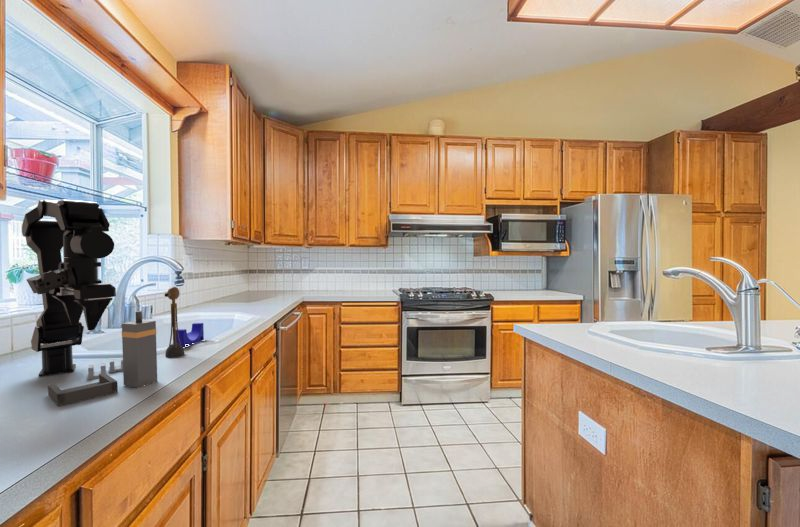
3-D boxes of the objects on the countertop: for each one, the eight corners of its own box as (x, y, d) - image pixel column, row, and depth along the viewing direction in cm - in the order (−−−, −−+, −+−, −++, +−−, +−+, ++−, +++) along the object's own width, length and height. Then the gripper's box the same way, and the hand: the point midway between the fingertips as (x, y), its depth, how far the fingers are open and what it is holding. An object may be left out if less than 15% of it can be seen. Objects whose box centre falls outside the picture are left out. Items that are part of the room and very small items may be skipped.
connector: (123, 385, 84) (121, 312, 83) (143, 379, 88) (141, 309, 88) (138, 387, 82) (136, 313, 82) (157, 381, 87) (155, 310, 86)
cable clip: (190, 340, 128) (190, 323, 128) (203, 340, 128) (203, 323, 128) (169, 349, 116) (169, 330, 116) (184, 349, 116) (183, 330, 116)
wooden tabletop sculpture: (176, 358, 105) (174, 287, 105) (159, 358, 105) (157, 287, 105) (187, 353, 111) (185, 285, 111) (171, 353, 111) (170, 285, 111)
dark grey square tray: (48, 395, 78) (48, 384, 78) (104, 382, 86) (104, 372, 86) (58, 406, 73) (57, 394, 72) (117, 392, 80) (117, 381, 80)
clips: (88, 372, 93) (88, 362, 93) (149, 363, 101) (149, 353, 101) (87, 379, 88) (87, 368, 88) (151, 369, 96) (151, 358, 96)
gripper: (16, 257, 81) (19, 328, 82) (47, 259, 71) (50, 340, 72) (81, 256, 91) (82, 320, 91) (116, 258, 81) (117, 330, 81)
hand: (82, 327), depth 84 cm, fingers open, 9 cm apart
